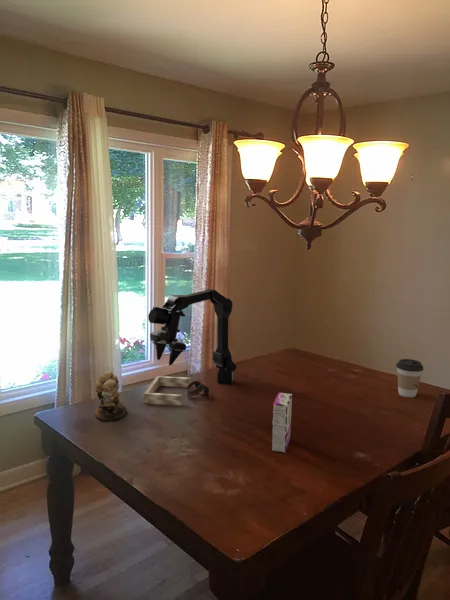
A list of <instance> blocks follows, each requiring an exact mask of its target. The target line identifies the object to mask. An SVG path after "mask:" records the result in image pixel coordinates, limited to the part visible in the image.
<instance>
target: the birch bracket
mask: <svg viewBox="0 0 450 600" xmlns="http://www.w3.org/2000/svg"><path fill="white" fill-rule="evenodd" d="M191 379H192V377H186V376H185V377H183V376H164V375H156V376H155V378H154V379H153V380H152V382H151V383H150V385H149V386H148V387H147V389H146V390H145V391H144V393H143V404H148V405H149V404H150V405H167V406H168V405H170V406H183V394H174V393H159V392H156V391H157V390H158V389H159V387H163V386H164V387H175V388H177V387H178V388H187V386H188V385H189V384H190V383H191V382H192V380H191Z"/></svg>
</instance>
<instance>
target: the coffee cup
mask: <svg viewBox="0 0 450 600" xmlns="http://www.w3.org/2000/svg"><path fill="white" fill-rule="evenodd" d="M395 367H396V370H397V390H398V395H399V396H401V397H404V398H415V397H416V396H417V393H418V389H419V386H420V381H421V376H422V373H423V371H424V366H423V364H422V362H421V361H419V360H416V359H413V358H411V359H410V358H401V359H399V360H398V361H397V363H396V365H395Z"/></svg>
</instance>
